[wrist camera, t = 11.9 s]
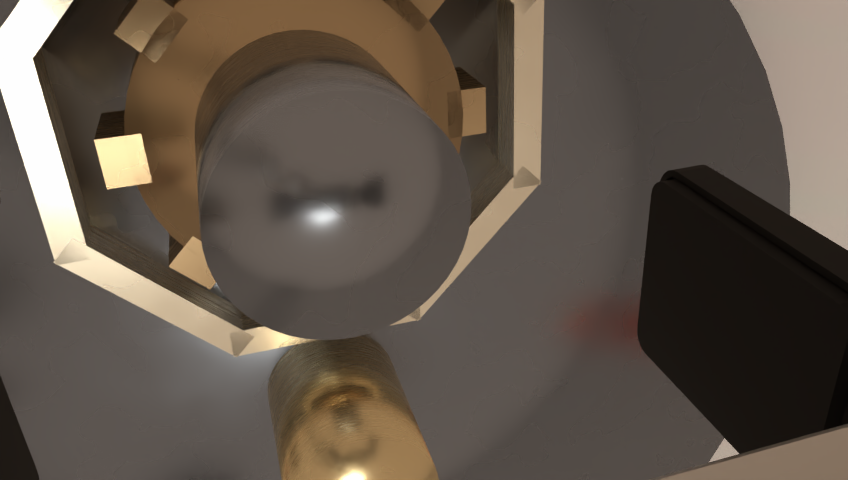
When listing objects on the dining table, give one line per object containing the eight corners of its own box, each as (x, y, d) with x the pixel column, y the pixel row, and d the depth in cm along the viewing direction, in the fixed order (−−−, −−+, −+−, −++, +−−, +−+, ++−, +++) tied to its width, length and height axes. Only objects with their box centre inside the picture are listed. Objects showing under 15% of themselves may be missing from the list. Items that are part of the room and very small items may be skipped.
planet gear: (56, -62, 17) (-8, -10, 11) (455, -94, 19) (583, -65, 13) (147, 294, 21) (136, 470, 15) (465, 237, 23) (564, 373, 17)
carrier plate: (-656, -184, 14) (-1182, -201, 9) (845, -245, 22) (1077, -275, 16) (-54, 794, 30) (-107, 1012, 24) (704, 568, 37) (797, 696, 31)
